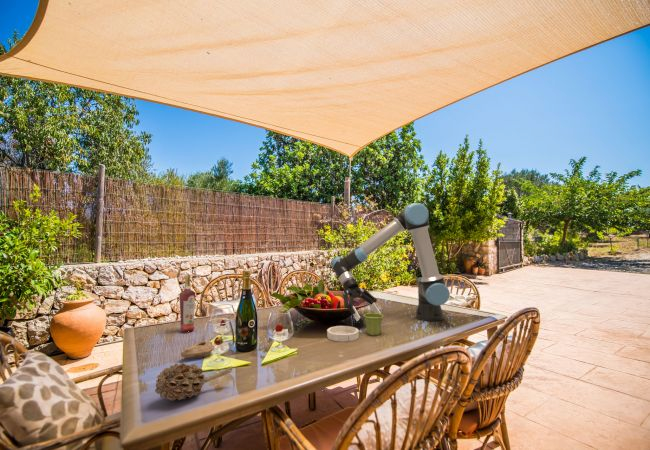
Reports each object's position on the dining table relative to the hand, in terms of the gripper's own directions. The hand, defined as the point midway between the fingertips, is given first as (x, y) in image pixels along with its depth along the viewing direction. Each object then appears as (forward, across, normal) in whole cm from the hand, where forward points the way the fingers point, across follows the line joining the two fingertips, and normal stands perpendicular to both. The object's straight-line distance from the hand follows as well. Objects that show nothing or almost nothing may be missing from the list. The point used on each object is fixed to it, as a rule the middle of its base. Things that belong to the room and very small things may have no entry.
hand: (369, 317), depth 152 cm
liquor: (-35, +70, -46) cm, 91 cm away
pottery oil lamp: (-8, +74, -19) cm, 77 cm away
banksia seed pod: (+14, +82, +4) cm, 84 cm away
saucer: (+3, +14, -8) cm, 16 cm away
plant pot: (+7, -1, -4) cm, 8 cm away
